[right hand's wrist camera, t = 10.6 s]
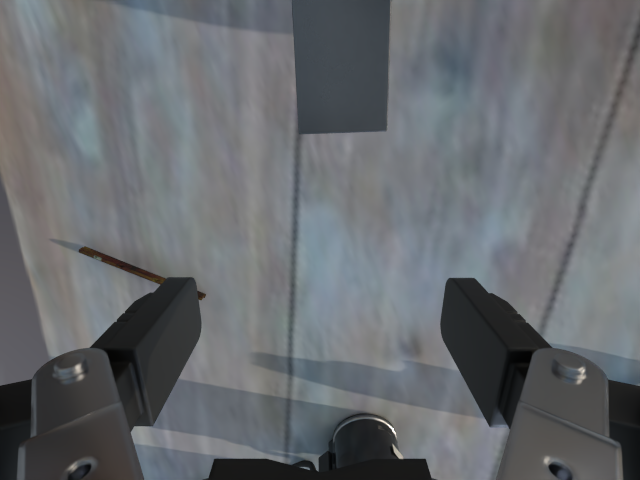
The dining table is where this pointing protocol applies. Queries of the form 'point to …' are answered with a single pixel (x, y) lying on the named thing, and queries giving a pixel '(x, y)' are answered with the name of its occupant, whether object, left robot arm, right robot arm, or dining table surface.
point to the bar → (342, 65)
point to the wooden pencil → (127, 267)
